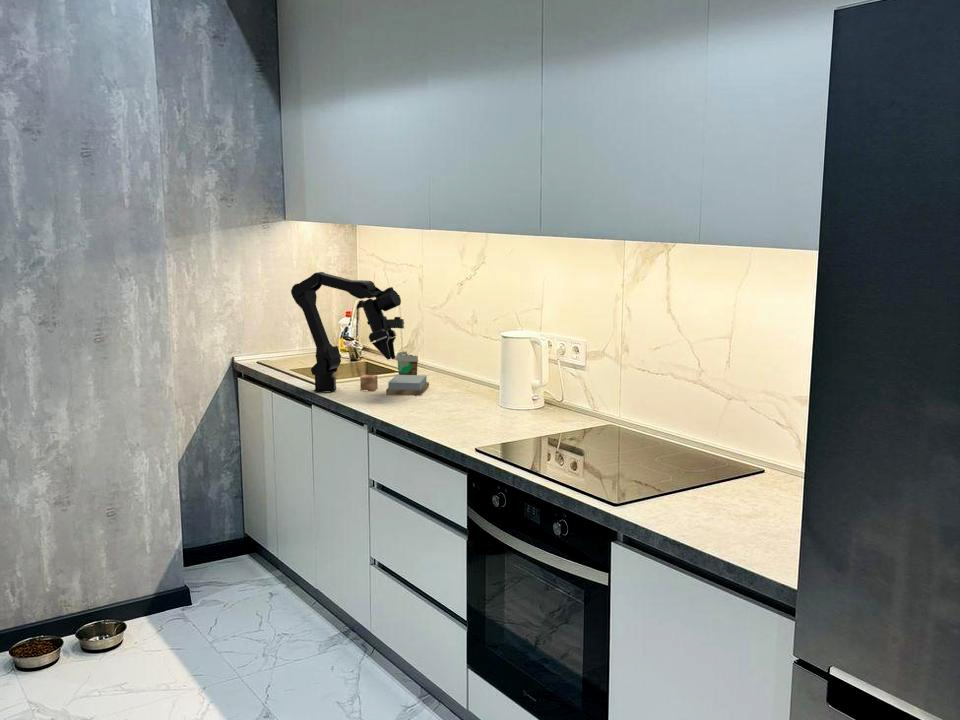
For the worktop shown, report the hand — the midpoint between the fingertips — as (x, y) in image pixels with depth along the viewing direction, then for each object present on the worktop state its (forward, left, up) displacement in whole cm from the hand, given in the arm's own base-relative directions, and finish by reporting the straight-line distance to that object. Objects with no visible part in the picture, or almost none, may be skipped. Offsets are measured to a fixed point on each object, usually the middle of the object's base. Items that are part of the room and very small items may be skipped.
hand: (391, 359), depth 333 cm
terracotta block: (-11, +12, -13) cm, 21 cm away
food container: (-2, +31, -14) cm, 34 cm away
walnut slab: (+3, +12, -14) cm, 19 cm away
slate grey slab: (+3, +12, -12) cm, 17 cm away
